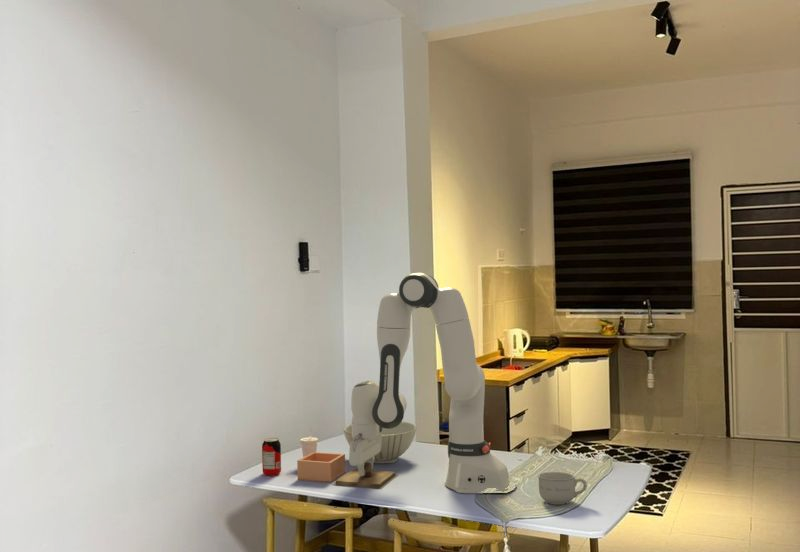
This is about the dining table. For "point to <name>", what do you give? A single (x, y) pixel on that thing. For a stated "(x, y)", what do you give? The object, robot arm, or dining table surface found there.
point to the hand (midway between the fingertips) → (366, 472)
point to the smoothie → (308, 444)
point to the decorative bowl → (390, 441)
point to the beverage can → (271, 456)
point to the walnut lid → (366, 477)
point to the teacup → (559, 487)
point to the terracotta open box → (321, 467)
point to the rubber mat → (370, 487)
